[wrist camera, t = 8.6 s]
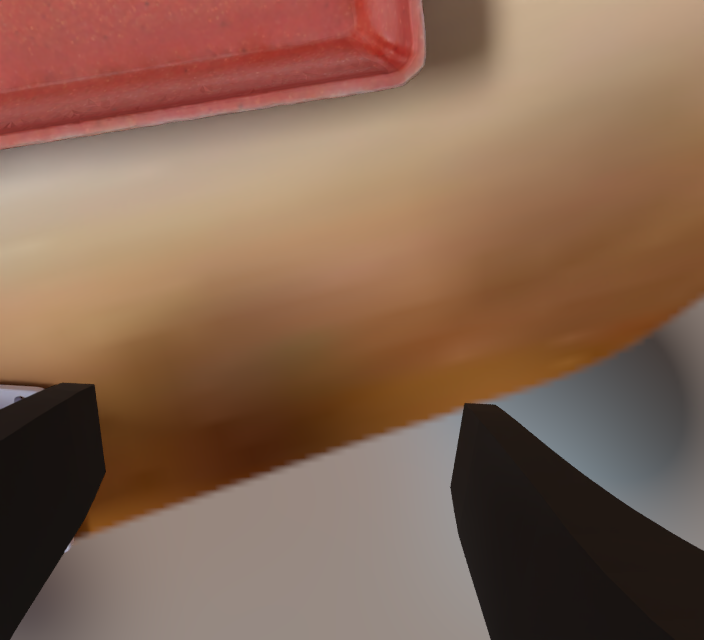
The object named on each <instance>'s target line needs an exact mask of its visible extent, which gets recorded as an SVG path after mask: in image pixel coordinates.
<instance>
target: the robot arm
mask: <svg viewBox="0 0 704 640" xmlns="http://www.w3.org/2000/svg"><path fill="white" fill-rule="evenodd" d="M20 396H22V397H24V399H21V398H20ZM105 472H106V470H105V463H104V455H103V447H102V439H101V432H100V424H99V416H98V408H97V401H96V393H95V385H94V384H76V383H60V384H57V385H54V386H52V387H49V388H46V389H44V388H41V387H32V386H15V385H0V640H10V639H11V637H12V635H13V633H14V632H15V630H16V628H17V627H18V625H19V624H20V622H21V620H22V619H23V617H24V616H25V614H26V613H27V611H28V609H29V608H30V606H31V605H32V603H33V601H34V600H35V598H36V596H37V595H38V593H39V592H40V590H41V589H42V587H43V585H44V584H45V582H46V581H47V579H48V578H49V576H50V574H51V573H52V571H53V570H54V568H55V566H56V565H57V563H58V562H59V560H60V558H61V557H62V555H63V554H64V552H67V551H69V549H70V548H71V547H72V545H73V543H74V536H75V534H76V533H77V531H78V529H79V528H80V526H81V524H82V523H83V521H84V519H85V517H86V515H87V513H88V511H89V509H90V507H91V504H92V502H93V500H94V498H95V496H96V493H97V491H98V489H99V486H100V484H101V482H102V479H103V477H104V475H105ZM450 488H451V494H452V500H453V506H454V513H455V518H456V524H457V529H458V534H459V538H460V541H461V544H462V547H463V551H464V554H465V558H466V561H467V564H468V568H469V571H470V574H471V577H472V580H473V584H474V587H475V590H476V593H477V596H478V600H479V603H480V606H481V609H482V612H483V616H484V619H485V622H486V626H487V629H488V632H489V635H490V638H491V640H704V551H703V550H701V549H699V548H697V547H696V546H694V545H692V544H690V543H689V542H687V541H685V540H683V539H681V538H680V537H678V536H676V535H675V534H673V533H671V532H669V531H668V530H666V529H665V528H663V527H661V526H660V525H658V524H657V523H655V522H653V521H651V520H650V519H648V518H647V517H645V516H643V515H642V514H640V513H639V512H637V511H635V510H634V509H632V508H631V507H629V506H628V505H626V504H625V503H623V502H622V501H620V500H619V499H617V498H616V497H615V496H613V495H612V494H610V493H609V492H607V491H606V490H605V489H603V488H602V487H600V486H599V485H598V484H596V483H595V482H593V481H592V480H590V479H589V478H588V477H586V476H585V475H584V474H582V473H581V472H580V471H578V470H577V469H576V468H574V467H573V466H572V465H571V464H569V463H568V462H567V461H565V460H564V459H563V458H562V457H560V456H559V455H558V454H557V453H555V452H554V451H553V450H551V449H550V448H549V447H548V446H546V445H545V444H544V443H543V442H541V441H540V440H539V439H538V438H537V437H536V436H534V435H533V434H532V433H531V432H529V431H528V430H527V429H526V428H525V427H523V426H522V425H521V424H520V423H518V422H517V421H516V420H515V419H513V418H512V417H511V416H510V415H508V414H507V413H506V412H505V411H503V410H502V409H501V408H499V407H498V406H496V405H491V404H471V403H465V404H464V410H463V416H462V422H461V428H460V434H459V439H458V446H457V451H456V457H455V463H454V469H453V475H452V481H451V487H450Z"/></svg>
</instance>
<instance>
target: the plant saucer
mask: <svg viewBox="0 0 704 640" xmlns="http://www.w3.org/2000/svg"><path fill="white" fill-rule="evenodd" d="M425 61H426V31H425V22H424V13H423V4H422V0H0V150H1V149H8V148H14V147H21V146H27V145H33V144H39V143H46V142H53V141H59V140H64V139H69V138H77V137H85V136H92V135H98V134H103V133H109V132H116V131H123V130H129V129H134V128H139V127H150V126H156V125H162V124H166V123H171V122H177V121H186V120H195V119H200V118H205V117H210V116H216V115H224V114H230V113H237V112H243V111H252V110H258V109H264V108H269V107H274V106H279V105H291V104H297V103H302V102H308V101H314V100H321V99H329V98H337V97H345V96H351V95H356V94H360V93H367V92H376V91H382V90H386V89H391V88H395V87H399V86H403V85H405V84H406V83H408V82H409V81H410V80H411V79H413V78H414V77H415V76H416V75H418V73H419V72H420V71H421V69H422V68H423V67H424V65H425Z"/></svg>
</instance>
